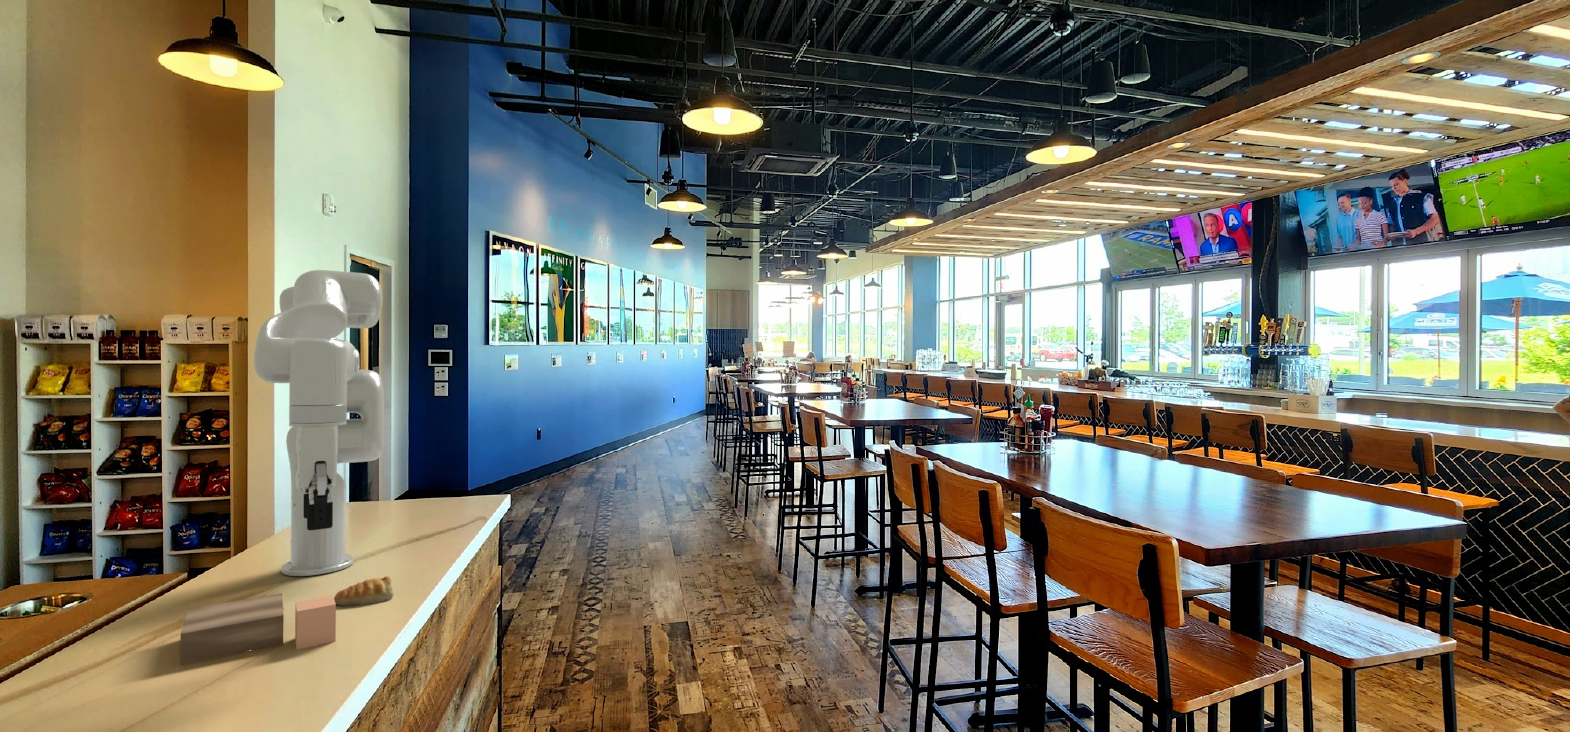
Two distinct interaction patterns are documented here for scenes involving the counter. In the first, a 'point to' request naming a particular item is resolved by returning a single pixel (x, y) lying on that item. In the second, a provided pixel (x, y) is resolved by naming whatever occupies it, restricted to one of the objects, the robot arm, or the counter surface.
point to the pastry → (366, 592)
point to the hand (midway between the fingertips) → (317, 522)
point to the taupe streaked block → (231, 628)
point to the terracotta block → (315, 622)
